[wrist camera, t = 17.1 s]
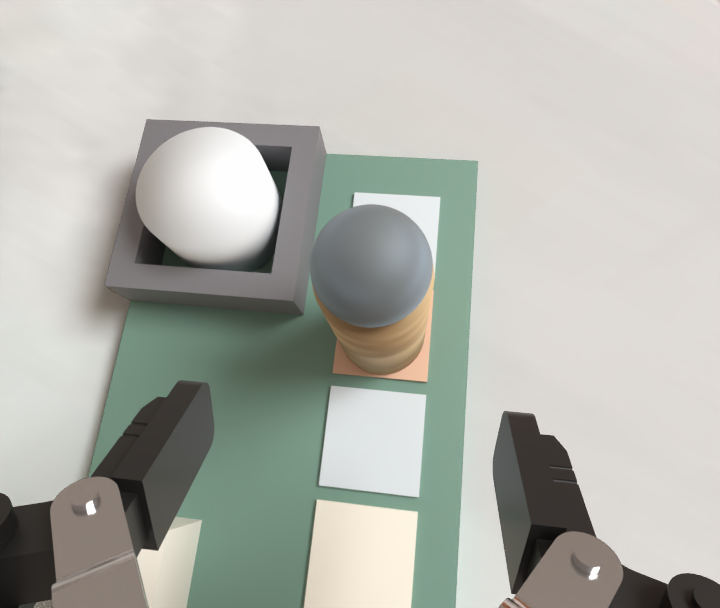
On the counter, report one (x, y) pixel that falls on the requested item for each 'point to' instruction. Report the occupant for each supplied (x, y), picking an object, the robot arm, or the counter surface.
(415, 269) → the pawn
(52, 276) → the counter surface
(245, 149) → the dome button
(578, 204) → the counter surface
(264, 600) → the board
